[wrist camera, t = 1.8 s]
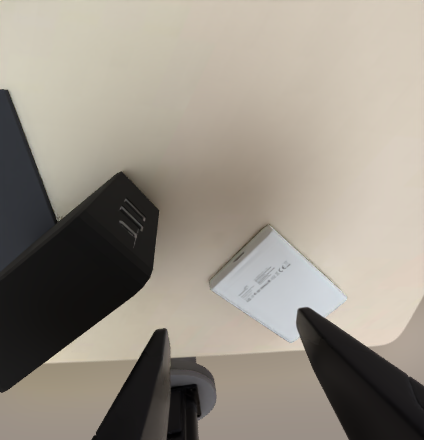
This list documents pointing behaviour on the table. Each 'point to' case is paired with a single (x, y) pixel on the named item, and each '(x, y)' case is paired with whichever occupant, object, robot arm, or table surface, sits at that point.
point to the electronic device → (75, 276)
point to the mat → (19, 189)
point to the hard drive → (275, 284)
